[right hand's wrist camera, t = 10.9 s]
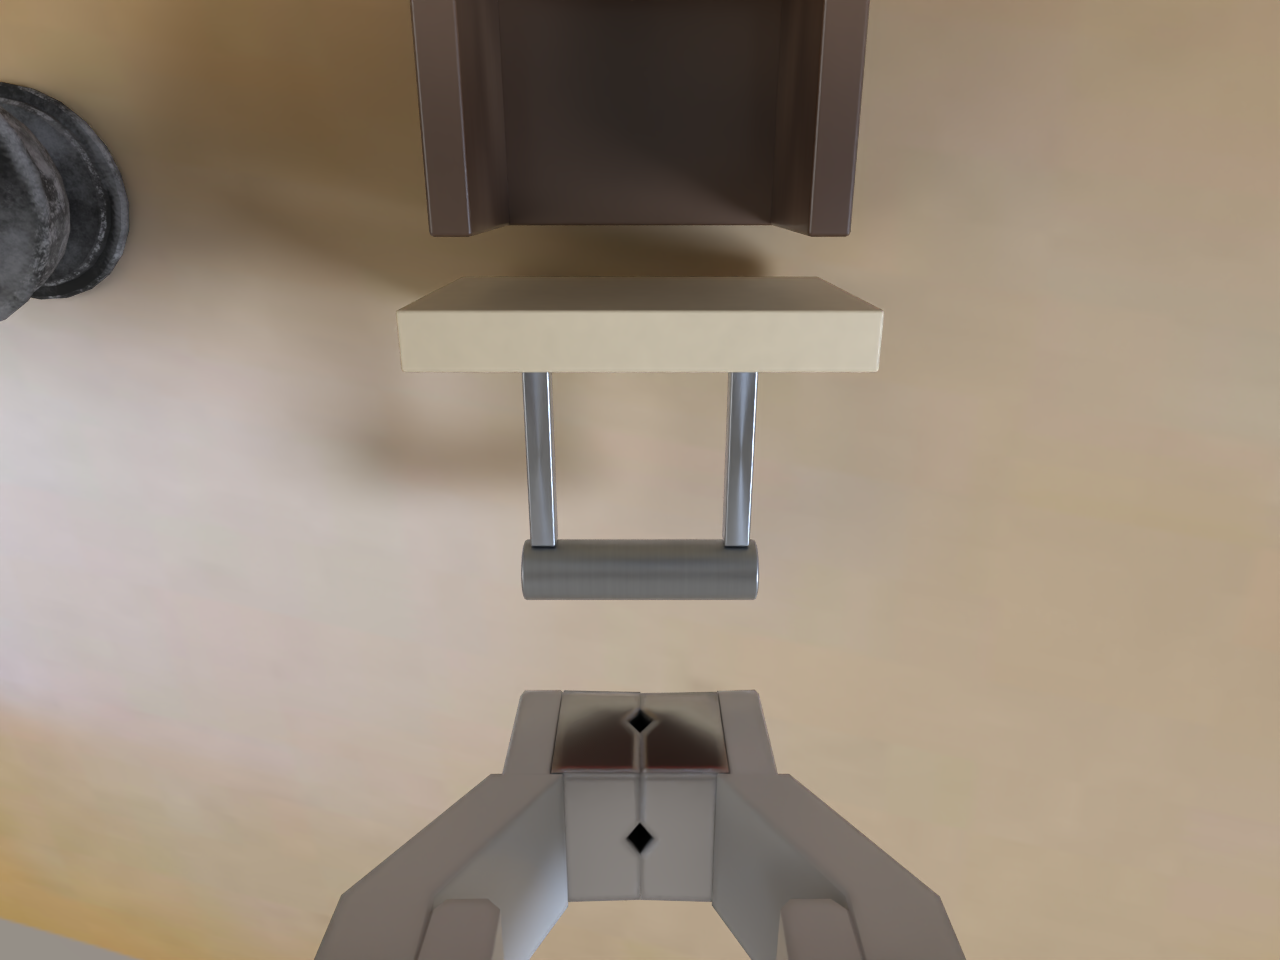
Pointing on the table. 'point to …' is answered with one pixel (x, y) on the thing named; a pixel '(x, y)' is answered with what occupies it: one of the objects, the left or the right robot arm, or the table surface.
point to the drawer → (639, 195)
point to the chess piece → (54, 201)
